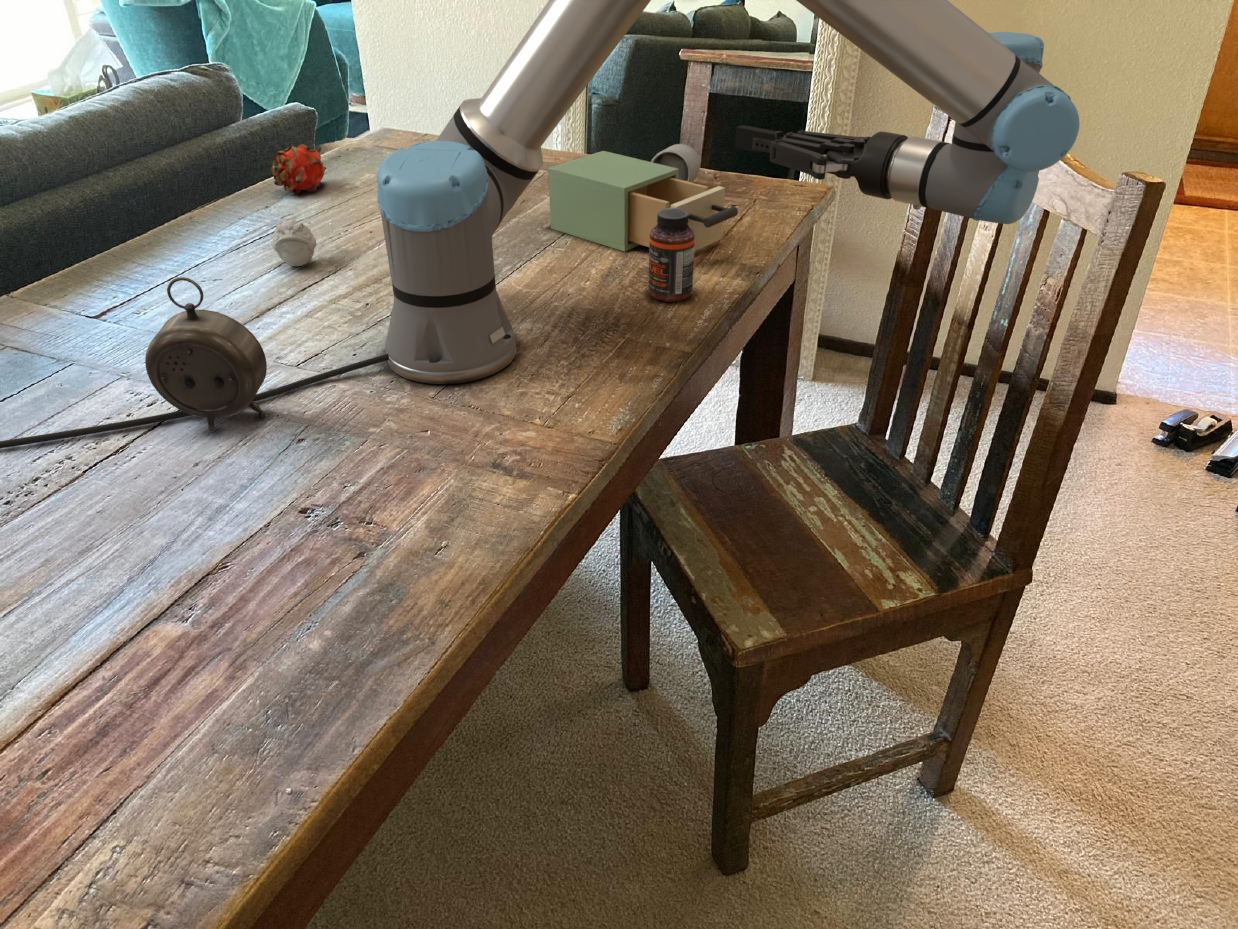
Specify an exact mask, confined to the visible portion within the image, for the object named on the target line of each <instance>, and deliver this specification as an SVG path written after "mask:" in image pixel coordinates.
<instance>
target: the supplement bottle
mask: <svg viewBox="0 0 1238 929" xmlns="http://www.w3.org/2000/svg"><path fill="white" fill-rule="evenodd" d="M657 223H658V224H657V225H656V226H655V227H654V228H653V229H652V230H651V232H650V241H649V247H648V251H649V252H648V257H649V258H648V293H649V295H650V296H651V297H652V298H653V299H656V300H658V301H662V302H666V303H667V302H680V301H684V300H686V299H688V298H690V297H691V295H692V293H693V282H694V263H695V262H694V260H695V251H694V245H695V244H694V242H695V234H694V231H693V230H692V228H690V227H689V226H688V212H687V211H685V210H682V209H677V208H667V209H663V210H660V211H659V212H658V215H657Z"/></svg>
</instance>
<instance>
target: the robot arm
mask: <svg viewBox="0 0 1238 929" xmlns="http://www.w3.org/2000/svg"><path fill="white" fill-rule="evenodd" d="M651 1H652V0H548V1H547V3H546V4H545V6H544V7H543V8H542V10H541V12H540V13H539V14H538V15H537V17H536V19H535V20H534V21H533V23H532V25H530V27H529V29H528V30H527V32H526V33H525V35H524V36H523V37H522V39H521V40H520V41H519V44H517V46H516V47H515V49H514V50H513V51H512V53H511V55H510V56H509V58H508V59H507V60H506V62H505V64H504V65H503V66H502V68H501V69H500V70H499V72H498V74H497V75H496V77H495V78H494V79H493V81H492V82H491V84H490V85H489V87H487V90H486V91H485V93H484V94H483V96H482V97H479V98H478V97H477V98H467V99H464V100H462V102H461V103H460V105H458V106H459V107H458V108H457V109H456V111H455V112H454V113H453V115H452V116H451V118H450V119H449V121H448V122H447V124H446V126H444V128H443V130H442V131H441V132H440V134H439V135H438V137H437V138H436V140H434V141H425V142H424V141H423V142H418V143H414V144H410V145H409V146H408V148H405V147H404V148H399V149H397V150H395V151H393V152H392V153H391V154H389V155H388V156H387V157H385V159H383V160H382V162H381V163H380V166H379V167H378V169H377V173H376V174H377V175H376V181H377V189H376V190H377V192H376V194H377V197H376V200H377V201H376V202H377V203H378V208H379V212H380V216H381V217H380V218H381V223H382V229H383V236H384V242H385V249H386V255H387V261H388V262H387V263H388V268H389V273H390V280H391V286H392V292H393V293H392V294H393V303H392V309H391V314H390V319H389V323H388V324H389V325H388V329H387V336H386V339H385V354H381V355H377V356H374V357H371V358H368V359H367V358H366V359H364V360H361V361H358V362H354V363H352V364H347V365H344V366H342V367H338V368H334V369H332V370H328V371H325V372H322V373H319V374H315V375H312V376H309V377H306V378H303V379H300V380H297V381H294V382H291V383H288V384H285V385H282V386H279V387H276V388H272V389H269V390H266V391H263V392H259V393H257V394H256V395H255V397H254V399H253V402H254V403H256V402H258V401H259V402H260V401H262V400H266V399H270V398H272V397H276V396H278V395H282V394H285V393H288V392H290V391H291V392H292V391H293V390H296V389H299V388H303V387H305V386H308V385H311V384H312V385H313V384H314V383H318V382H322V381H324V380H328V379H331V378H333V377H336V376H340V375H344V374H346V373H349V372H353V371H356V370H359V369H364V368H367V367H369V366H373V365H377V364H379V363H383V362H386V361H387V364H388V366H389V368H390V369H391V370H392V371H393V372H394V373H395V374H397V375H398V376H401V377H403V378H404V379H407V380H410V381H413V382H418V383H423V384H432V385H450V384H453V385H454V384H460V383H467V382H473V381H476V380H480V379H484V378H486V377H489V376H492V375H494V374H496V373H498V372H500V371H501V370H503V369H505V368H506V367H508V366H509V365H510V364H511V363H512V361H513V360H514V359H515V357H516V354H517V341H516V334H515V331H514V328H513V326H512V323H511V321H510V318H509V316H508V314H507V312H506V309H505V307H504V305H503V303H502V300H501V298H500V295H499V293H498V290H497V284H496V272H495V259H494V247H493V236H494V234H495V232H496V231H497V230H498V228H499V227H500V224H501V223H502V222H503V220H504V218H505V217H506V215H507V214H508V213H509V212H510V211H511V209H513V207H514V206H515V205H516V203H517V201H518V200H519V198H520V197H521V195H522V194H523V193H524V191H525V190H526V189H527V187H528V186H529V185H530V183H531V182H532V181H533V180H534V178H535V177H536V176H537V174H539V172H540V170H541V169H542V167H543V165H544V158H543V153H542V152H543V151H542V146H543V144H545V142H546V141H547V139H549V137H550V135H552V133H553V132H554V130H555V129H556V127H557V126H558V125H559V123H560V122H561V121H562V119H563V118H564V117H565V115H566V114H567V113H568V112H569V110H570V109H571V108H572V107H573V105H574V104H575V102H576V101H577V99H578V98H579V97H580V96H581V94H582V93H583V91H584V90H585V89H586V87H587V86H588V84H589V83H590V82H591V81H592V80H593V78H594V77H595V76H596V74H597V73H598V72H599V70H600V69H601V67H603V65H604V64H605V62H606V61H607V60H608V58H609V57H610V56H611V54H612V53H613V52H614V50H615V49H616V48H617V47H618V45H619V44H620V42H621V41H622V39H623V38H624V37H625V35H626V34H627V33H628V32H629V30H630V29H631V28H632V27H633V25H634V23H635V22H636V21H637V20H638V18H639V17H640V16H641V14H642V13H643V12H644V10H645V9H646V8H647V6H648V5H649V4H650V2H651ZM795 1H796V2H798V3H799V4H800V5H802V6H803V7H804V8H806V9H807V10H808V11H810V12H811V13H812V14H814V15H815V16H816V17H817V18H819V19H820V20H821V21H823V23H825V24H827V25H828V26H829V27H831V28H832V29H833V30H834V31H835V32H837V33H839V34H840V35H841V36H842V37H844V38H845V39H847V40H848V41H849V42H850V43H852V44H853V45H854V46H856V47H857V48H858V49H860V50H861V51H862V52H864V53H865V54H866V55H868V56H869V57H870V58H871V59H873V60H874V61H876V62H877V63H878V64H879V65H880V66H882V67H884V69H886V70H887V71H889V72H890V73H891V74H892V75H893V76H895V77H897V78H898V79H899V80H900V81H902V82H903V83H905V84H906V85H907V86H908V87H910V88H911V89H913V91H915V92H916V93H918V94H919V95H920V96H922V98H924V99H926V101H928V102H930V103H931V104H932V105H933V106H935V107H936V108H938V109H939V110H940V111H941V112H943V113H944V114H946V115H947V116H948V117H950V119H952V120H953V121H954V127H953V133H952V138H951V143H950V142H946V141H942V140H937V139H930V138H925V137H920V136H910V137H908V136H907V135H906V134H900V133H894V132H888V131H883V130H882V131H878V132H876V133H874V134H873V135H872V136H855V135H854V136H852V135H843V134H835V133H826V132H818V131H810V130H805V129H804V130H803V129H801V130H797V133H795V132H792V131H791V132H787V133H786V134H785V132H784V131H783V130H771V129H766V128H761V127H757V126H750V125H745V124H742V125H739V126H736V130H735V144H734V146H735V147H734V148H735V149H738V150H742V151H748V152H752V153H757V154H762V155H766V156H767V155H768V156H769V162H770V163H773V164H776V165H779V166H782V167H784V168H785V167H786V168H788V169H791V170H795V171H797V172H800V173H803V174H806V175H809V176H811V177H812V178H814V179H816V180H818V181H822V180H825V179H826V174H830V175H834V176H835V177H836V178H840V179H844V180H848V179H851V178H854V179H855V180H856V183H857V184H858V186H857V187H858V188H859V191H860V192H861V193H862V194H863V195H866V196H869V197H874V198H878V199H879V198H880V199H883V200H891V199H892V200H893V201H895V202H898V203H904V204H909V205H912V208H913V209H914V210H915V211H919V210H920V209H921V208H925V209H931V210H935V211H940V212H944V213H947V214H952V215H955V216H959V217H964V218H968V219H972V220H974V221H976V222H978V221H979V222H987V223H992V224H993V223H994V224H1003V225H1012V224H1014V223H1016V222H1018V221H1019V220H1021V219H1022V218H1023V217H1024V216H1025V214H1026V213H1027V212H1028V210H1029V208H1030V206H1031V204H1032V203H1033V200H1034V198H1035V196H1036V192H1037V188H1038V185H1039V182H1040V181H1039V179H1040V178H1039V175H1040V171H1043V170H1046V169H1048V168H1050V167H1053V166H1054V165H1056V164H1057V163H1059V162H1060V161H1061V160H1062V159H1063V158H1064V157H1066V156H1067V155H1068V153H1069V152H1070V151H1071V149H1072V148H1073V147H1074V144H1075V143H1076V140H1077V138H1078V135H1079V131H1080V123H1081V122H1080V116H1079V111H1078V109H1077V106H1076V104H1074V102H1073V101H1072V98H1071V96H1070V95H1068V94H1067V92H1065V91H1064V90H1063V89H1061V88H1060V87H1058V86H1056V85H1054V84H1053V83H1052V82H1050V81H1049V80H1048V79H1047V78H1045V77H1044V76H1043V75H1042V74H1041V70H1042V69H1043V57H1044V51H1045V42H1044V41H1043V39H1042V38H1040V36H1037V35H1035V34H1030V33H1023V32H1013V31H1012V32H1010V31H994V32H988V31H987V30H986V29H984V28H983V27H981V25H979V24H978V23H976V21H975V20H973V19H972V18H971V17H969V16H968V15H967V14H965V12H963V11H962V10H960V9H959V8H958V7H957V6H956V5H954V4H953V3H952V2H951V1H950V0H795ZM193 416H194V415H191V414H188V413H185V412H183V411H181V410H177V411H171V412H166V413H162V414H156V415H151V416H146V417H140V418H135V419H128V420H124V421H117V422H111V423H106V424H100V425H93V426H87V427H82V428H76V429H69V430H64V431H56V432H51V433H45V434H44V433H43V434H39V435H38V434H37V435H32V436H25V437H18V438H11V439H4V440H0V449H6V448H13V447H19V446H25V445H32V444H33V445H34V444H40V443H45V442H52V441H57V440H63V439H70V438H76V437H81V436H88V435H89V436H90V435H93V434H94V435H95V434H100V433H106V432H111V431H117V430H118V431H119V430H123V429H129V428H135V427H139V426H145V425H150V424H151V425H152V424H156V423H161V422H166V421H172V420H176V419H182V418H186V417H187V418H188V417H193Z"/></svg>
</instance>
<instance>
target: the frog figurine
mask: <svg viewBox="0 0 1238 929" xmlns="http://www.w3.org/2000/svg"><path fill="white" fill-rule="evenodd" d="M271 238H272V241H271V247H272V249H273V250H274V251H275V253H276V254H277V255H278V257H279V259H281V260H282V262H284V263H285V264H287V265H288V266H291V267H302V266H305V265H307V264H309V262H311V260H312V259H313V256H314V253H315V250H316V246H317V239H316V238H315V236H314V233H312V231H311V229H310V227H308V226H307V225H306V224H304V223H302V222H298V221H297V220H296V219H292V218H290V219H284V220H283V221H282V222H281V223H279V224H276V225H275V229H274V232H273V234H272V237H271Z"/></svg>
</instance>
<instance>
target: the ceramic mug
mask: <svg viewBox="0 0 1238 929" xmlns="http://www.w3.org/2000/svg"><path fill="white" fill-rule="evenodd" d="M650 162H652V163H657V164H661V165H665V166H669V167H673V168H677V169H679V174H678V179H679V180H684V181H688V182H692V183H694V181H695V180H696V179H697V177H698V176H699V173H700V169H701V160H700V157H699V155H698V153H697V151H696V150H695V149H694V148H693V147H691V146H689V145H687V144H683V143H676V144H673V145H671V146H668V147H667V148H665V149H663V150H661V151H659V152H658V153H656V154H655V156H653V158H651V160H650Z"/></svg>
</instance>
